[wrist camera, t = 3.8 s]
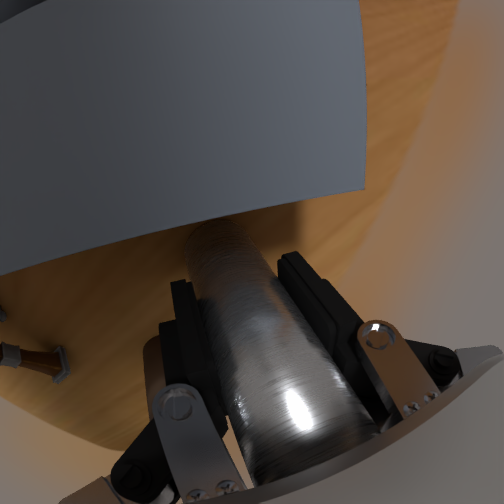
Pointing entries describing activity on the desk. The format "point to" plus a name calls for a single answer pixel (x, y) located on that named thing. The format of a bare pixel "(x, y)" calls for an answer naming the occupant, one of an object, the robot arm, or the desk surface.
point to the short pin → (153, 371)
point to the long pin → (269, 361)
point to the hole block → (170, 115)
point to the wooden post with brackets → (35, 359)
